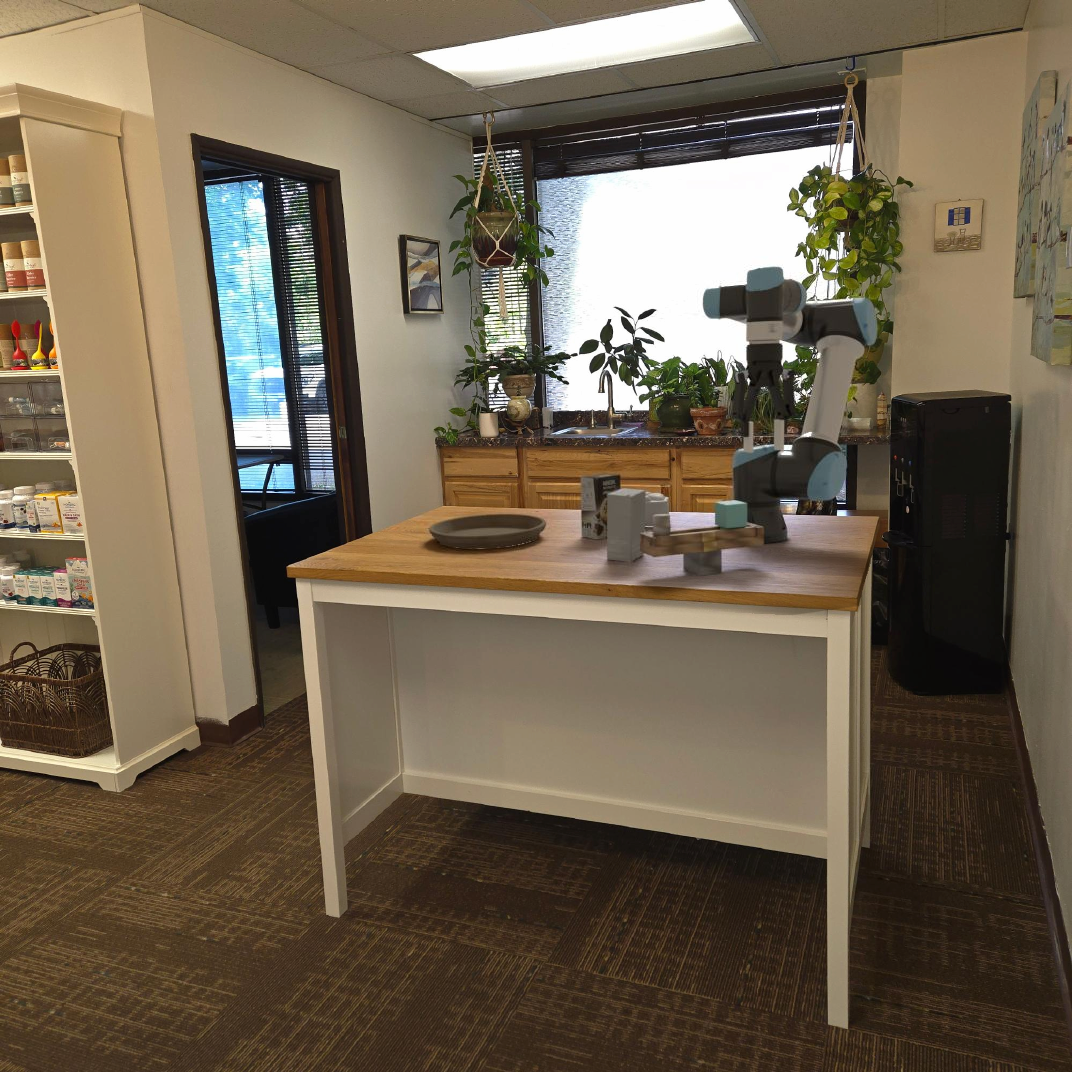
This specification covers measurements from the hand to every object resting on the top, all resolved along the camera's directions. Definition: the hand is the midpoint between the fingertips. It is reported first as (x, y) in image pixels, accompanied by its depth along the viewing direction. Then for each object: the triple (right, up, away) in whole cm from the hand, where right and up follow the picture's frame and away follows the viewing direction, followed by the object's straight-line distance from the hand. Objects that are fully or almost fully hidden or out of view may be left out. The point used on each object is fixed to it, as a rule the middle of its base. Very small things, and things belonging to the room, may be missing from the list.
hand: (763, 450), depth 203 cm
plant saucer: (-62, -20, +46) cm, 80 cm away
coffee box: (-32, -19, +44) cm, 57 cm away
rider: (-7, -18, +1) cm, 19 cm away
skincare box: (-28, -24, +16) cm, 40 cm away
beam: (-13, -26, 0) cm, 29 cm away
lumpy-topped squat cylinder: (-19, -16, +58) cm, 63 cm away
